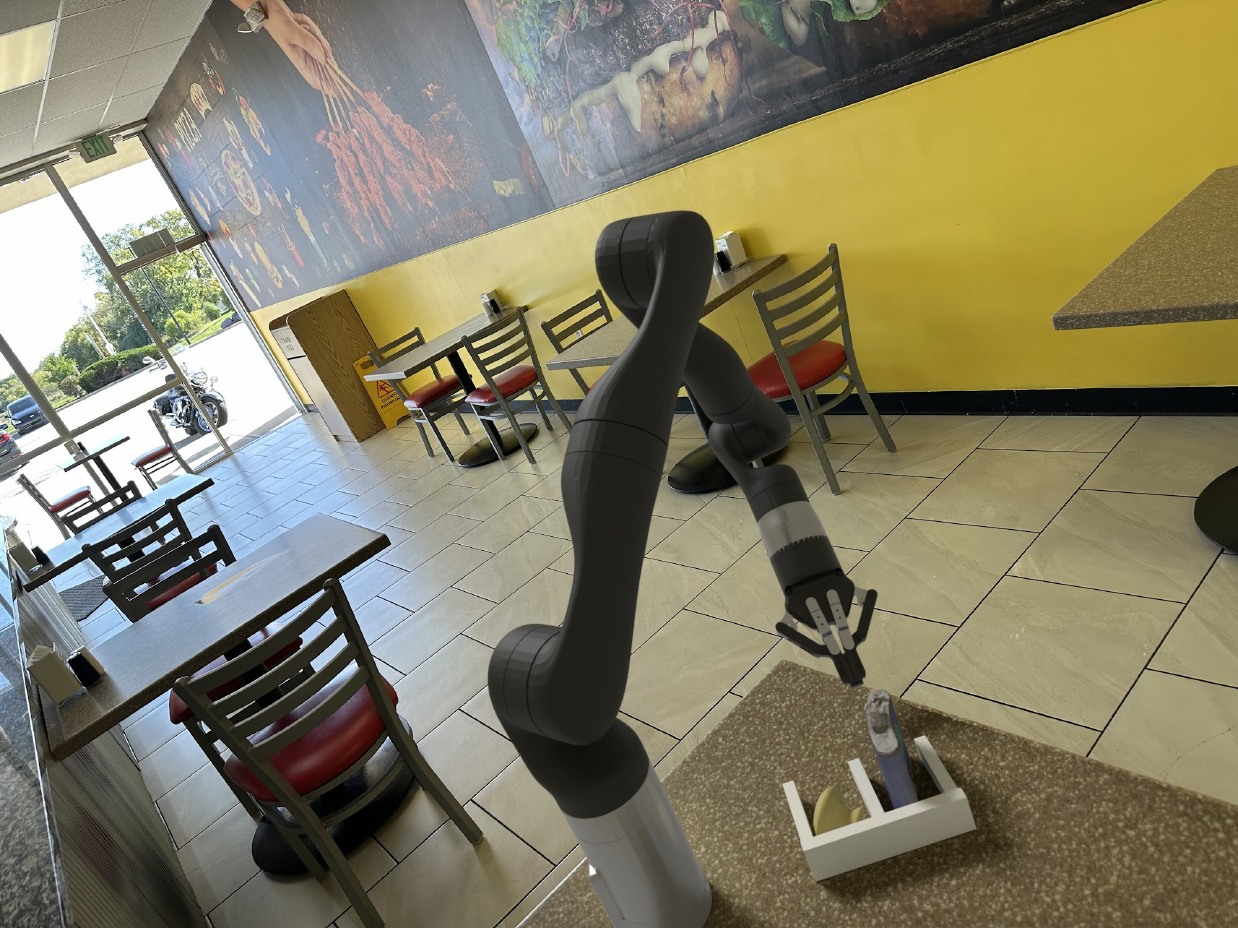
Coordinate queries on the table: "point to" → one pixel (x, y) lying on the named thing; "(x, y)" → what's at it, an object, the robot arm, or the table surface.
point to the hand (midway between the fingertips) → (857, 685)
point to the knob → (834, 812)
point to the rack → (884, 822)
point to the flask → (890, 748)
